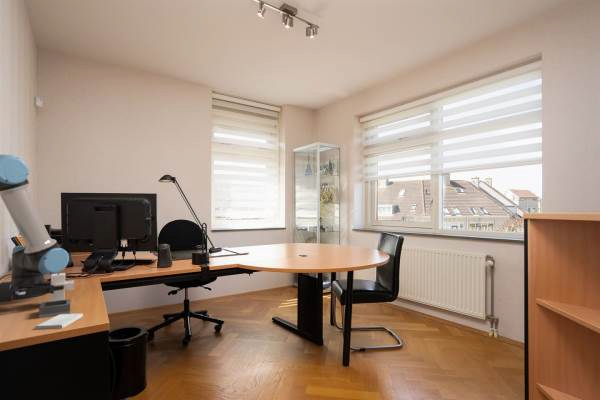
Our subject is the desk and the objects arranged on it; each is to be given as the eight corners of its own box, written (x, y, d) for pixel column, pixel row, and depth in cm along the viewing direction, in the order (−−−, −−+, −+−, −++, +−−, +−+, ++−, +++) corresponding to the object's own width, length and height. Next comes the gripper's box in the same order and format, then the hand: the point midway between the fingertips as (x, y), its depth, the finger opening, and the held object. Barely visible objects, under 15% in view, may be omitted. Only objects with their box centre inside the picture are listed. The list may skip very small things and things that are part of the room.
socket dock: (41, 311, 119) (41, 302, 119) (70, 307, 124) (70, 298, 124) (38, 318, 112) (39, 308, 112) (69, 313, 117) (70, 304, 117)
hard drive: (62, 325, 102) (83, 312, 114) (34, 326, 101) (58, 313, 113) (62, 330, 102) (83, 317, 114) (34, 331, 101) (58, 318, 113)
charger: (50, 303, 130) (52, 273, 130) (64, 301, 133) (65, 272, 133) (50, 305, 126) (51, 275, 127) (63, 303, 129) (65, 274, 129)
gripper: (2, 297, 126) (73, 289, 140) (-7, 308, 112) (73, 298, 125) (3, 278, 127) (74, 272, 140) (-6, 287, 112) (74, 279, 126)
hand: (73, 284), depth 133 cm, fingers closed on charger, 4 cm apart
